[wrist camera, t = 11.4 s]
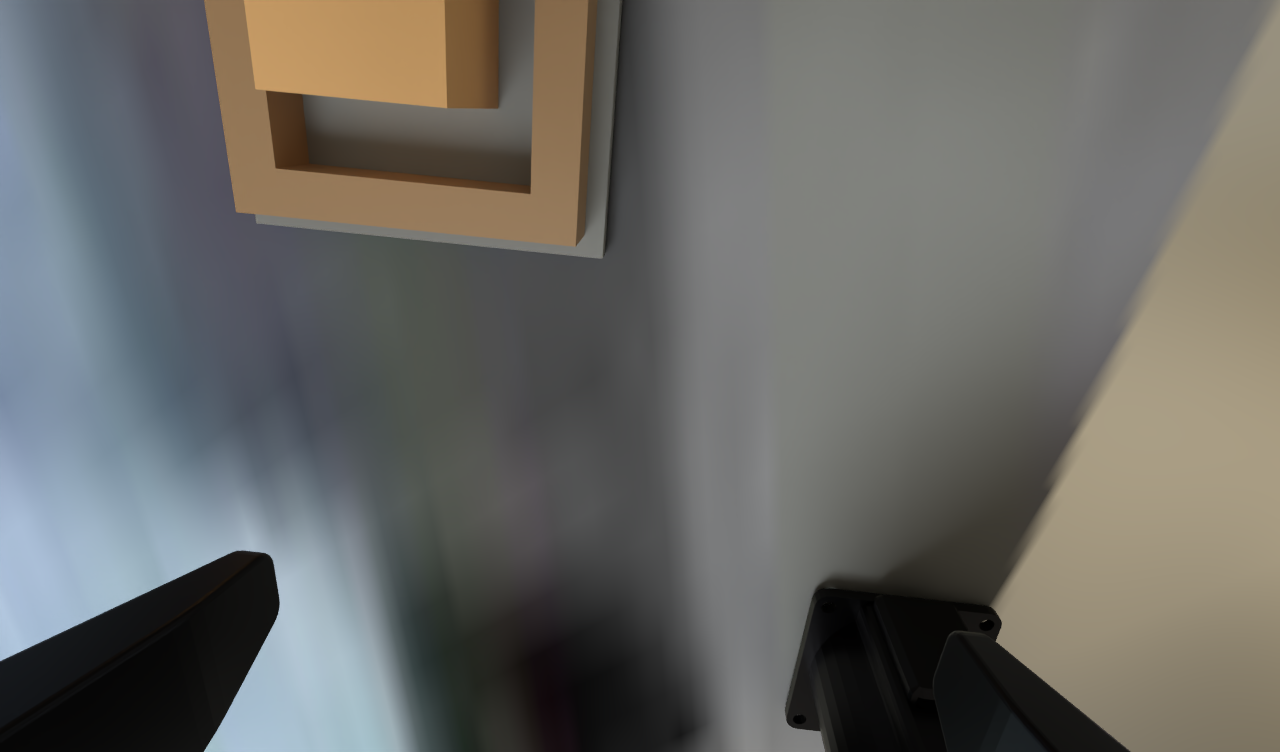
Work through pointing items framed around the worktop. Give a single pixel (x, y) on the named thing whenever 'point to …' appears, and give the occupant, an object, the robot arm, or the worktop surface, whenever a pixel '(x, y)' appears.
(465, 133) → the board
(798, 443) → the worktop surface
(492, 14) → the ochre bar
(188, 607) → the robot arm
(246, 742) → the worktop surface
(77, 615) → the worktop surface
